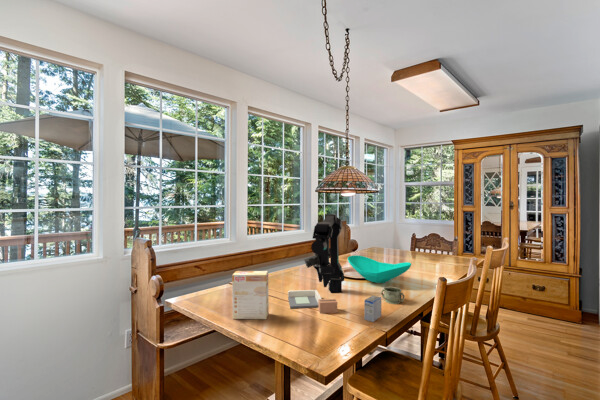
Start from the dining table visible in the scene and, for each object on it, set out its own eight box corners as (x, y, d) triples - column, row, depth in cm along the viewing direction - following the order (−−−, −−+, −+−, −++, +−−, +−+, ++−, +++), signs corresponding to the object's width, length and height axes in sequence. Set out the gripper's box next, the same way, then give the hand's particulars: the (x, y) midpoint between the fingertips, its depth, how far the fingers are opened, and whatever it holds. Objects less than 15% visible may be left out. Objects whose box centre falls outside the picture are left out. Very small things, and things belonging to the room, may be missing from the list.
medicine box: (372, 314, 139) (372, 295, 139) (381, 316, 136) (381, 297, 136) (364, 319, 133) (364, 299, 133) (373, 322, 130) (373, 302, 130)
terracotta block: (335, 309, 145) (335, 298, 145) (337, 312, 141) (337, 301, 141) (318, 309, 144) (318, 298, 144) (319, 313, 140) (319, 302, 140)
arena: (316, 297, 161) (316, 289, 161) (321, 307, 147) (321, 298, 147) (288, 298, 160) (288, 290, 160) (290, 308, 146) (290, 300, 146)
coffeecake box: (268, 313, 140) (268, 270, 140) (266, 319, 133) (266, 274, 133) (236, 312, 141) (235, 270, 140) (232, 319, 134) (231, 274, 133)
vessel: (377, 301, 156) (377, 288, 155) (384, 296, 163) (384, 284, 162) (401, 306, 148) (401, 293, 148) (407, 301, 155) (407, 289, 155)
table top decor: (338, 281, 191) (338, 259, 191) (359, 272, 213) (359, 252, 212) (402, 293, 167) (402, 269, 166) (418, 282, 188) (418, 260, 188)
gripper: (302, 247, 150) (302, 280, 150) (309, 254, 132) (309, 291, 132) (324, 247, 152) (324, 279, 152) (335, 253, 134) (334, 289, 134)
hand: (322, 284), depth 142 cm, fingers open, 9 cm apart
